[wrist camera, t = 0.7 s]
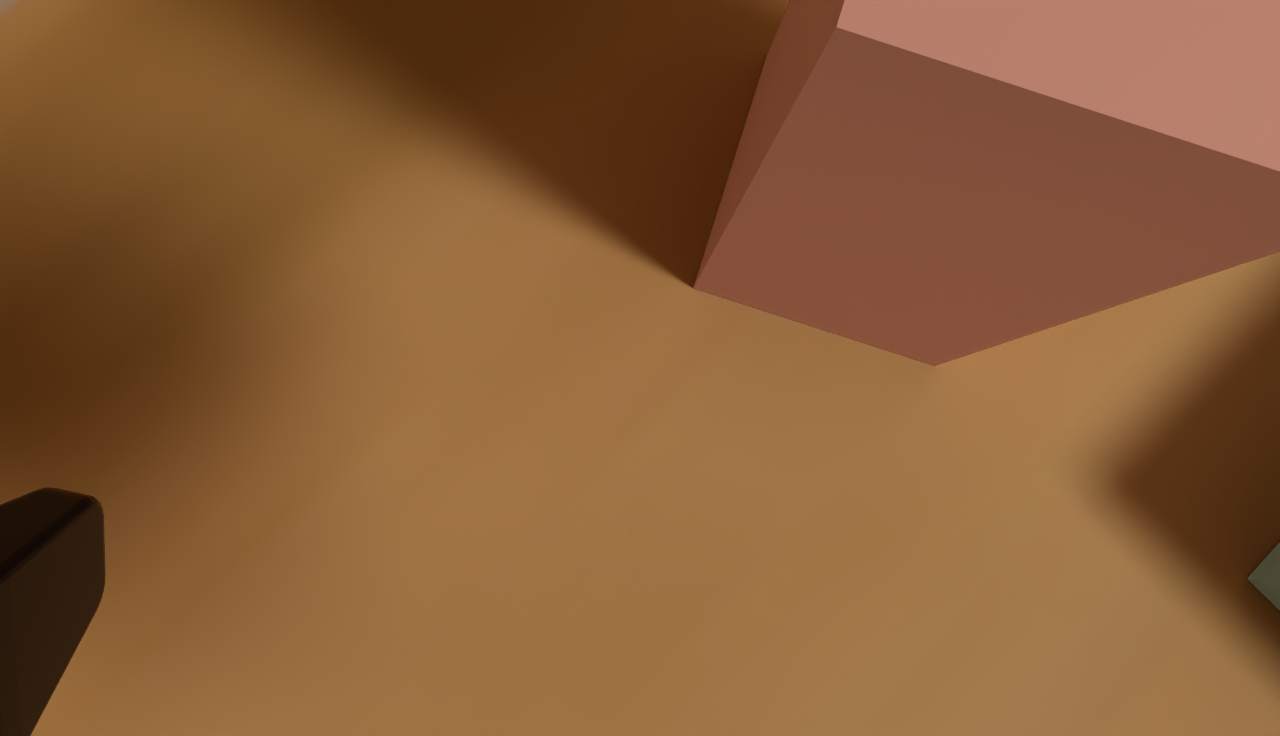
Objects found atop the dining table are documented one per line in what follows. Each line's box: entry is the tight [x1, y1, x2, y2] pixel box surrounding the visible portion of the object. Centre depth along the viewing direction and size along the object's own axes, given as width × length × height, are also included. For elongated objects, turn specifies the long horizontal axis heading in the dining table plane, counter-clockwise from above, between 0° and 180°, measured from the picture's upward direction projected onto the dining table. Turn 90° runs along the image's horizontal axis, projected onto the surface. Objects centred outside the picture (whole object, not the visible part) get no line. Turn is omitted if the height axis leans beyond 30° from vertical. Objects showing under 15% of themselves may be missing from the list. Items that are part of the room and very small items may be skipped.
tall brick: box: [693, 0, 1280, 366], centre depth 16 cm, size 5×5×13 cm
